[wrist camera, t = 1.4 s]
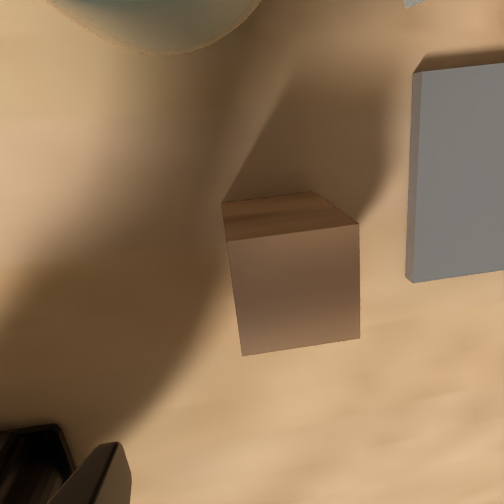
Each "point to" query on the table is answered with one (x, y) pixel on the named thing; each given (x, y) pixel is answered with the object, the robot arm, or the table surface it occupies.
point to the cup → (158, 22)
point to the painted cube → (411, 3)
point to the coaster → (456, 173)
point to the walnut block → (293, 272)
